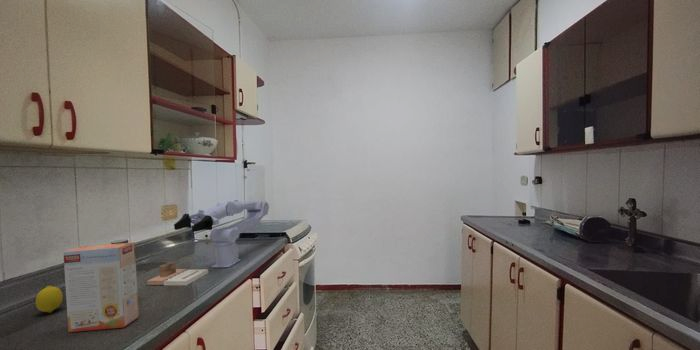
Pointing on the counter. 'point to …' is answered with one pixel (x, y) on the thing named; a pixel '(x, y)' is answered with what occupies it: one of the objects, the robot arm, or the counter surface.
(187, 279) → the board
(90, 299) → the cracker box
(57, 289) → the lemon
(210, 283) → the counter surface
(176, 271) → the stub
